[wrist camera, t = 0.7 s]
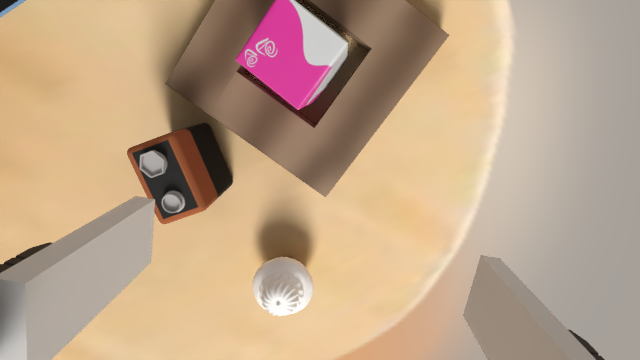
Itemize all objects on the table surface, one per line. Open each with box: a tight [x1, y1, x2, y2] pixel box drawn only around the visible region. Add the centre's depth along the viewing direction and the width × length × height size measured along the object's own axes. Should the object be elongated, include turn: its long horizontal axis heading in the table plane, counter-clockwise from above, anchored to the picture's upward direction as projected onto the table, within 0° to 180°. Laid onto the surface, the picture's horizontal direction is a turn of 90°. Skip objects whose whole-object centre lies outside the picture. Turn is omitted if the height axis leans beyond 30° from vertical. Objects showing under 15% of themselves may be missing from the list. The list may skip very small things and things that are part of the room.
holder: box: [165, 0, 449, 197], centre depth 36 cm, size 18×18×3 cm
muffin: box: [253, 257, 313, 316], centre depth 39 cm, size 6×6×7 cm
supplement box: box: [235, 0, 348, 110], centre depth 31 cm, size 6×6×12 cm
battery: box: [127, 123, 233, 224], centre depth 35 cm, size 4×7×10 cm, turn 20°
